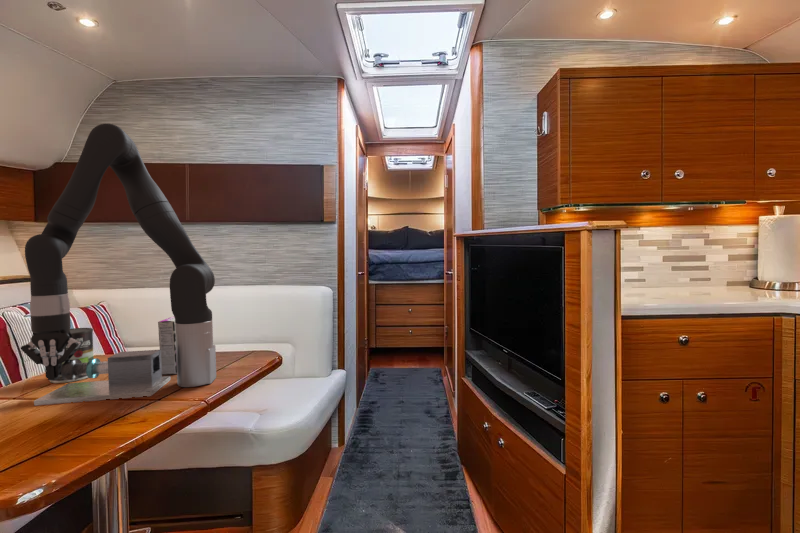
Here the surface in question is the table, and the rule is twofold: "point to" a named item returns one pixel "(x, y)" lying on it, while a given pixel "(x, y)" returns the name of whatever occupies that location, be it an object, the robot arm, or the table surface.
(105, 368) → the shaft
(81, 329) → the coffee can
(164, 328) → the candy bar box
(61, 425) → the table surface
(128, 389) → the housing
